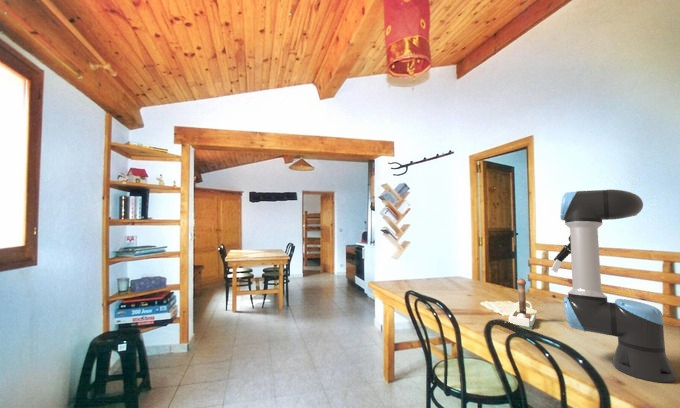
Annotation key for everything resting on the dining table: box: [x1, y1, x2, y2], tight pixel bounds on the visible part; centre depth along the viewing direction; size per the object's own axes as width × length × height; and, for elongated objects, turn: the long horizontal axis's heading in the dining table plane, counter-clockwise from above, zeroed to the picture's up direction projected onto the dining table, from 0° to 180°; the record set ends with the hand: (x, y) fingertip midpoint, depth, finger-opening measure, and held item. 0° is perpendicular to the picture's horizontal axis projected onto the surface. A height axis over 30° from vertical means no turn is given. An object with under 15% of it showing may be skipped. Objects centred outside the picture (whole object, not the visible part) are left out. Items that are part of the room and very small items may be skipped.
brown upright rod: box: [515, 278, 531, 321], centre depth 158 cm, size 5×7×21 cm
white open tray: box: [508, 308, 537, 330], centre depth 156 cm, size 20×10×4 cm, turn 142°
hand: (562, 267), depth 147 cm, fingers open, 13 cm apart
